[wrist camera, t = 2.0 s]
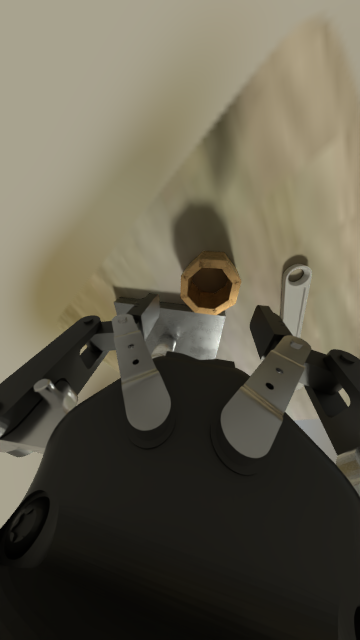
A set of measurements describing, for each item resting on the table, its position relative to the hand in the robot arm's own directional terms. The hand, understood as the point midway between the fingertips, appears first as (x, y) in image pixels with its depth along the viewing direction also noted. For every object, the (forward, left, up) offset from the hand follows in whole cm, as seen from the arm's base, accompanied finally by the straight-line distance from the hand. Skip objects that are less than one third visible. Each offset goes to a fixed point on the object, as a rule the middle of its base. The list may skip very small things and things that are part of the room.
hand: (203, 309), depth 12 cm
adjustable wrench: (-15, +10, -11) cm, 21 cm away
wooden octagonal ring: (0, 0, -10) cm, 10 cm away
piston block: (+6, +12, -10) cm, 17 cm away
